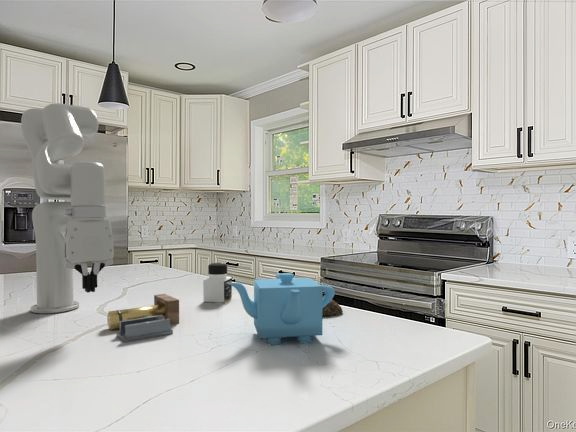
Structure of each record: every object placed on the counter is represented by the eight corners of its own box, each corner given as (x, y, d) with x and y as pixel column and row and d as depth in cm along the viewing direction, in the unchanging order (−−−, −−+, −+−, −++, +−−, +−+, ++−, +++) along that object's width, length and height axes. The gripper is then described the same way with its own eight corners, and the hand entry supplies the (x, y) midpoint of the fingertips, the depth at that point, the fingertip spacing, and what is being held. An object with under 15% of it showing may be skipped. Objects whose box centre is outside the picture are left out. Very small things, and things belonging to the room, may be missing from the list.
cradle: (116, 335, 100) (116, 321, 100) (162, 327, 107) (162, 314, 107) (124, 342, 95) (124, 327, 95) (172, 333, 102) (172, 319, 102)
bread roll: (303, 319, 116) (303, 301, 116) (293, 309, 128) (293, 292, 128) (349, 317, 119) (349, 299, 119) (335, 307, 131) (335, 290, 131)
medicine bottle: (224, 303, 135) (224, 264, 135) (203, 302, 136) (202, 264, 136) (232, 298, 142) (231, 262, 142) (211, 297, 143) (211, 261, 143)
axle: (111, 333, 104) (112, 316, 103) (106, 324, 108) (108, 308, 107) (167, 324, 112) (169, 308, 111) (161, 316, 116) (163, 301, 115)
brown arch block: (154, 317, 118) (154, 295, 118) (164, 315, 119) (164, 293, 119) (167, 324, 110) (167, 301, 110) (179, 323, 111) (179, 299, 111)
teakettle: (340, 334, 101) (340, 272, 101) (296, 356, 86) (296, 283, 86) (275, 322, 112) (275, 266, 112) (226, 340, 97) (226, 275, 97)
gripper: (55, 214, 95) (57, 297, 95) (125, 213, 104) (126, 289, 104) (50, 214, 101) (51, 293, 101) (116, 214, 110) (118, 286, 110)
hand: (89, 291), depth 102 cm, fingers closed
